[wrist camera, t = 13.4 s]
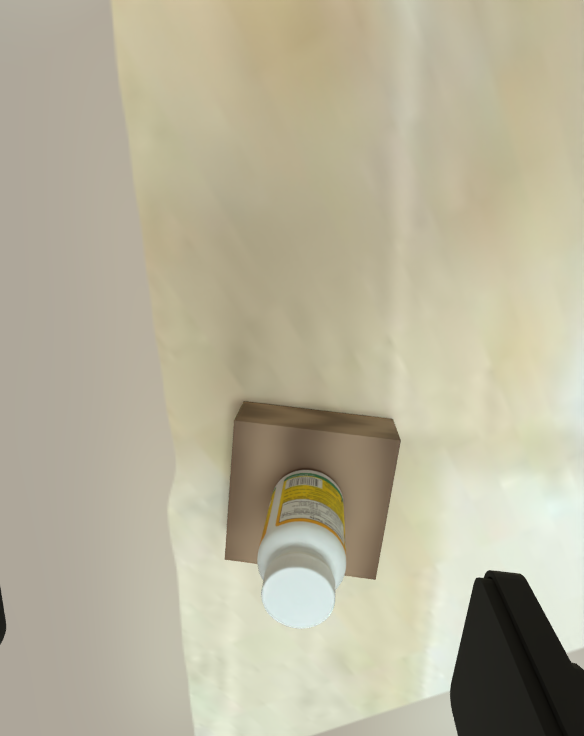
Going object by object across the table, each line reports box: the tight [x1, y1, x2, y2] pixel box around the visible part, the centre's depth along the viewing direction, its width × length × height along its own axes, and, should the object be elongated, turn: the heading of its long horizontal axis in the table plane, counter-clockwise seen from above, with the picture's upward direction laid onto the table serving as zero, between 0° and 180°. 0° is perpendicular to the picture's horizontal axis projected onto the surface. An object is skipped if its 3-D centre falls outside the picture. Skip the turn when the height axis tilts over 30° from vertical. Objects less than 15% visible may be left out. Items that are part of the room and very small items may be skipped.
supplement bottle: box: [257, 470, 346, 628], centre depth 30 cm, size 6×6×10 cm
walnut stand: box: [225, 401, 401, 580], centre depth 36 cm, size 12×12×4 cm
